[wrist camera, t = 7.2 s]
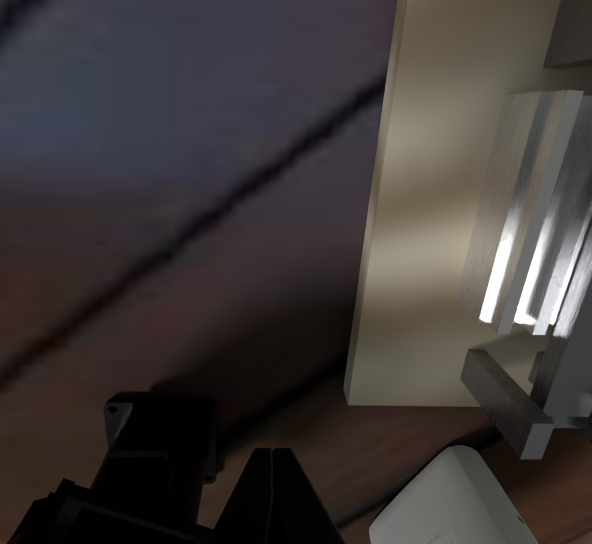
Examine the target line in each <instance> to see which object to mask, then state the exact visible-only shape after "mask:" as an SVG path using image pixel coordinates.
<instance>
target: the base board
mask: <svg viewBox="0 0 592 544" xmlns="http://www.w3.org/2000/svg"><path fill="white" fill-rule="evenodd" d="M560 1H561V0H397V7H396V14H395V21H394V28H393V35H392V43H391V50H390V57H389V64H388V71H387V79H386V86H385V93H384V100H383V107H382V115H381V122H380V129H379V136H378V143H377V150H376V158H375V165H374V172H373V179H372V186H371V194H370V201H369V208H368V215H367V222H366V230H365V237H364V244H363V251H362V258H361V266H360V273H359V280H358V287H357V294H356V301H355V309H354V316H353V323H352V330H351V337H350V345H349V352H348V359H347V366H346V373H345V381H344V388H343V389H344V393H345V396H346V400H347V404H348V405H368V406H458V407H481V406H480V405H479V403H478V402H477V401H476V399H475V398H474V397H473V395H472V394H471V393H470V391H469V390H468V389H467V387H466V386H465V385H464V383H463V382H462V381H461V379H460V377H461V373H462V369H463V366H464V362H465V358H466V354H467V351H468V349H481V350H486V351H487V352H488V354H489V355H490V356H491V357H492V358H493V359H494V360H495V361H496V362H497V363H498V364H499V365H500V366H501V367H502V368H503V369H504V370H505V371H506V372H507V374H508V375H509V376H510V377H511V378H512V379H513V380H514V381H515V382H516V383H517V384H518V385H519V386H520V387H521V388H522V389H523V390H524V391H525V392H526V393H527V395H528V396H530V393H531V390H532V388H533V384H532V383H530V382H529V381H528V378H529V375H530V372H531V369H532V366H533V363H534V361H535V358H536V355H537V352H538V351H545V350H546V347H547V344H548V341H549V338H550V335H551V332H552V329H553V325H552V324H549V325H548V328H547V330H546V333H545V335H532V334H531V333H530V332H529V331H527V330H526V329H525V328H524V327H522V326H521V325H520V324H519V323H513V325H512V328H511V331H510V334H497V333H496V332H495V331H494V330H493V329H491V328H490V327H489V326H488V325H487V324H486V323H485V322H478V321H477V320H476V319H475V318H474V317H473V316H472V315H471V314H470V313H469V312H468V311H467V310H466V309H464V308H463V307H462V306H461V305H460V304H459V303H458V302H457V301H456V297H457V293H458V289H459V284H460V280H461V276H462V272H463V268H464V264H465V259H466V255H467V251H468V247H469V243H470V239H471V234H472V230H473V226H474V222H475V218H476V214H477V209H478V205H479V201H480V197H481V193H482V189H483V185H484V180H485V176H486V172H487V168H488V164H489V160H490V155H491V151H492V147H493V143H494V139H495V135H496V130H497V126H498V122H499V118H500V114H501V110H502V105H503V101H504V97H505V95H512V94H521V93H530V92H539V91H542V92H553V91H563V90H575V91H584V92H583V95H587V96H591V95H592V65H589V66H583V67H577V68H571V69H565V70H562V69H552V68H543V65H544V61H545V57H546V54H547V50H548V46H549V42H550V39H551V35H552V31H553V27H554V24H555V20H556V16H557V12H558V8H559V5H560Z"/></svg>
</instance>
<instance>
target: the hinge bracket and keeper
mask: <svg viewBox="0 0 592 544" xmlns="http://www.w3.org/2000/svg"><path fill="white" fill-rule="evenodd" d="M589 65H592V0H561V1H560V5H559V8H558V12H557V16H556V20H555V24H554V27H553V31H552V35H551V39H550V42H549V46H548V50H547V54H546V57H545V61H544V65H543V68H552V69H562V70H565V69H571V68H577V67H583V66H589ZM544 353H545V351H538V352H537V355H536V358H535V361H534V363H533V366H532V369H531V372H530V375H529V378H528V381H529V382H530V383H532V384H533V385H534V382H535V379H536V376H537V373H538V370H539V367H540V364H541V361H542V358H543V356H544ZM460 379H461V381H462V382H463V383H464V385H465V386H466V387H467V389H468V390H469V391H470V393H471V394H472V395H473V397H474V398H475V399H476V401H477V402H478V403H479V405H480V406H481V407H482V409H483V410H484V411H485V413H486V414H487V415H488V417H489V418H490V419H491V421H492V422H493V423H494V425H495V426H496V427H497V429H498V430H499V431H500V433H501V434H502V435H503V437H504V438H505V439H506V441H507V442H508V444H509V445H510V446H511V448H512V449H513V450H514V452H515V453H516V454H517V456H518V457H519V458H520V459H542V456H543V454H544V451H545V449H546V446H547V444H548V441H549V438H550V436H551V433H552V431H553V428H554V426H555V423H554V422H553V421H552V420H551V419H550V418H549V417H548V416H547V415H546V413H545V412H544V411H543V410H542V409H541V408H540V407H539V406H538V405H537V404H536V403H535V402H534V401H533V400H532V399H531V398H530V397H529V396H528V395H527V393H526V392H525V391H524V390H523V389H522V388H521V387H520V386H519V385H518V384H517V383H516V382H515V381H514V380H513V379H512V378H511V377H510V376H509V375H508V374H507V372H506V371H505V370H504V369H503V368H502V367H501V366H500V365H499V364H498V363H497V362H496V361H495V360H494V359H493V358H492V357H491V356H490V355H489V354H488V352H487V351H486V350H481V349H468V351H467V354H466V358H465V362H464V366H463V369H462V373H461V377H460ZM577 429H578V430H579V431H580V432H581V433H582V434H583V435H584V436H585V437H586V438H587V439H588V440H589V441H590V442H591V443H592V411H591V413H590V416H589V423H588V425H587V427H585V428H577Z"/></svg>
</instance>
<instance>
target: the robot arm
mask: <svg viewBox="0 0 592 544" xmlns="http://www.w3.org/2000/svg"><path fill="white" fill-rule="evenodd" d="M111 406H114V407H116V408H112V407H111ZM205 407H210V408H211V409H206V408H205ZM104 416H105V424H106V431H107V439H108V447H109V450H108V452H107V454H106V456H105V458H104V460H103V462H102V464H101V466H100V468H99V471H98V473H97V475H96V477H95V479H94V481H93V483H92V485H91V487H90V489H88V488H84V487H81V486H78V485H75V484H74V483H75V482H74V481H71V480H68V479H65V478H64V479H63V480H62V482H61V484H60V485H59V487H58V489H57V490H56V492H55V493H53V492H50V493H49V495H48V497H47V498H43V499H39V500H35V501H34V502H33V503H32V505H31V507H30V508H29V510H28V512H27V513H26V515H25V516H24V518H23V520H22V521H21V523H20V525H19V526H18V528H17V529H16V531H15V532H14V534H13V536H12V537H11V538H10V540H9V541H8V543H7V544H346V543H345V541H344V540H343V538H342V536H341V534H340V532H339V531H338V529H337V527H336V525H335V524H334V522H333V520H332V518H331V517H330V515H329V513H328V511H327V510H326V508H325V506H324V504H323V503H322V501H321V499H320V497H319V496H318V494H317V492H316V490H315V489H314V487H313V485H312V483H311V482H310V480H309V478H308V476H307V475H306V473H305V471H304V469H303V468H302V466H301V464H300V462H299V460H298V459H297V457H296V455H295V453H294V452H293V450H292V449H290V448H275V449H274V450H272V449H271V448H256V449H254V451H253V452H252V454H251V456H250V458H249V460H248V462H247V464H246V466H245V468H244V470H243V472H242V474H241V476H240V478H239V480H238V482H237V484H236V486H235V488H234V490H233V492H232V494H231V496H230V498H229V500H228V502H227V504H226V506H225V508H224V510H223V512H222V514H221V516H220V518H219V520H218V522H217V524H216V526H215V528H214V529H211V528H208V527H204V526H201V525H198V524H196V522H197V517H198V511H199V505H200V500H201V494H202V488H203V484H212V483H214V482H215V481H216V476H217V405H216V403H215V401H213V400H210V399H150V398H111V399H109V400H108V401H107V402H106V404H105V406H104ZM208 475H209V476H208Z"/></svg>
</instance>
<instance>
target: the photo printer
mask: <svg viewBox="0 0 592 544" xmlns="http://www.w3.org/2000/svg"><path fill="white" fill-rule="evenodd" d="M369 534H370V540H371V544H539V543H538V542H537V540H536V539H535V537H534V536H533V534H532V533H531V531H530V530H529V528H528V527H527V525H526V524H525V522H524V520H523V519H522V518H521V516H520V514H519V513H518V511H517V510H516V508H515V507H514V505H513V504H512V502H511V501H510V499H509V498H508V496H507V495H506V493H505V492H504V490H503V488H502V487H501V485H500V484H499V482H498V481H497V479H496V478H495V476H494V475H493V473H492V472H491V470H490V469H489V468H488V466H487V465H486V463H485V462H484V460H483V459H482V457H481V456H480V454H479V453H478V452H477V451H476V450H474V449H473V448H471V447H468V446H464V445H454V446H450V447H448V448H446V449H445V450H444V451H442V452H441V453H440V454H439V455H438V456H436V457H435V458H434V459H433V460H432V461H431V462H430V463H429V464H428V465H427V466H426V467H425V468H424V469H423V470H422V471H421V472H420V473H419V474H418V475H417V476H416V477H415V478H414V479H413V480H412V481H411V482H410V483H409V484H408V485H407V486H406V487H405V488H404V489H403V490H402V491H401V492H400V493H399V494H398V495H397V496H396V497H395V498H394V499H393V500H392V501H391V502H390V504H389V505H388V506H387V507H386V508H385V509H384V510H383V511H382V512H381V513H380V514H379V516H378V517H377V518H376V519H375V520H374V522H373V523H372V525H371V526H370V529H369Z"/></svg>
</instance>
